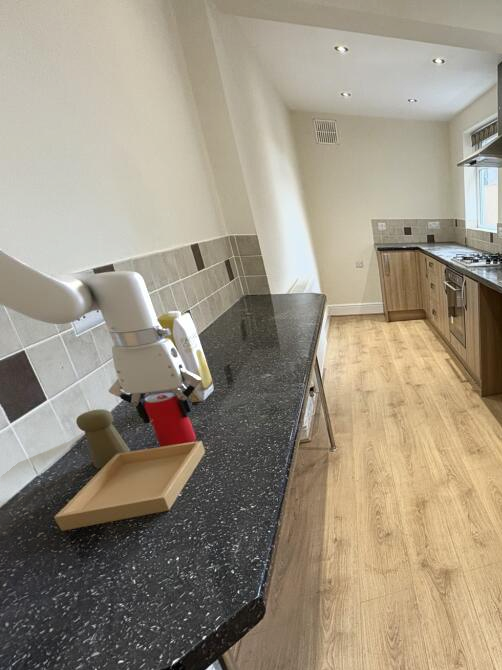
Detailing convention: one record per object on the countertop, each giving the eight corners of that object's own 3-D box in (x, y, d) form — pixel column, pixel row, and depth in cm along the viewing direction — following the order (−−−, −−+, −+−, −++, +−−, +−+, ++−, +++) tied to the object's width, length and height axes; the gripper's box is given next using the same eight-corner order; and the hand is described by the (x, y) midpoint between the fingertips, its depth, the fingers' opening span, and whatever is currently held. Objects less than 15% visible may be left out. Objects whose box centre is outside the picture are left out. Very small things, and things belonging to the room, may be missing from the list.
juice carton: (206, 402, 110) (176, 314, 100) (171, 406, 108) (138, 317, 98) (218, 389, 118) (192, 306, 109) (186, 392, 116) (157, 308, 106)
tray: (61, 531, 66) (53, 517, 65) (121, 465, 83) (116, 453, 82) (169, 510, 71) (163, 497, 69) (205, 451, 88) (201, 440, 86)
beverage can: (189, 435, 94) (171, 387, 89) (202, 442, 91) (185, 393, 86) (156, 447, 89) (136, 398, 84) (169, 455, 86) (149, 404, 81)
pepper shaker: (85, 465, 83) (61, 417, 79) (118, 449, 88) (97, 404, 84) (108, 469, 82) (85, 421, 77) (139, 453, 87) (119, 407, 83)
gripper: (196, 327, 86) (221, 404, 93) (93, 336, 81) (128, 416, 88) (183, 337, 80) (210, 418, 87) (71, 347, 74) (109, 432, 82)
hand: (168, 416), depth 87 cm, fingers closed on beverage can, 6 cm apart
